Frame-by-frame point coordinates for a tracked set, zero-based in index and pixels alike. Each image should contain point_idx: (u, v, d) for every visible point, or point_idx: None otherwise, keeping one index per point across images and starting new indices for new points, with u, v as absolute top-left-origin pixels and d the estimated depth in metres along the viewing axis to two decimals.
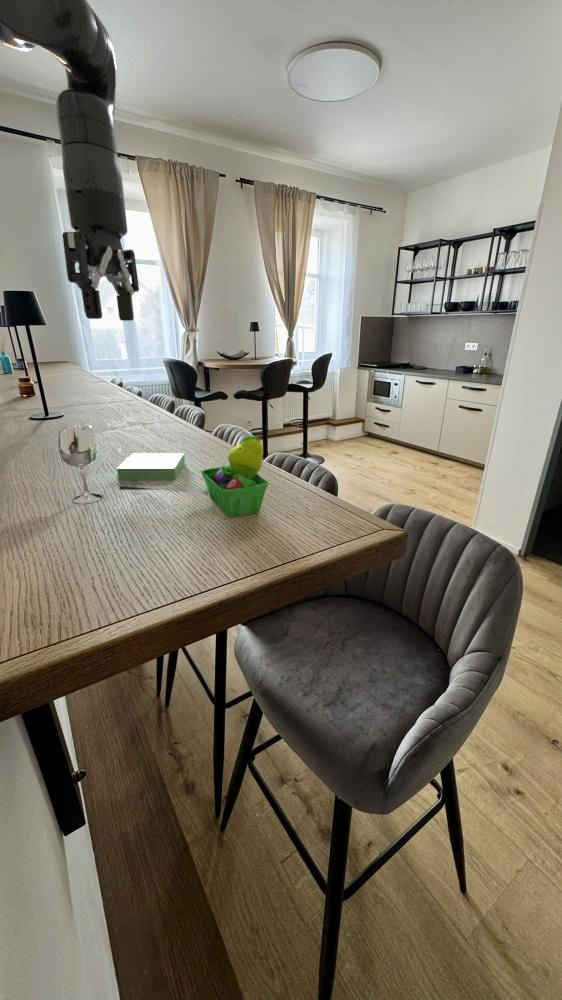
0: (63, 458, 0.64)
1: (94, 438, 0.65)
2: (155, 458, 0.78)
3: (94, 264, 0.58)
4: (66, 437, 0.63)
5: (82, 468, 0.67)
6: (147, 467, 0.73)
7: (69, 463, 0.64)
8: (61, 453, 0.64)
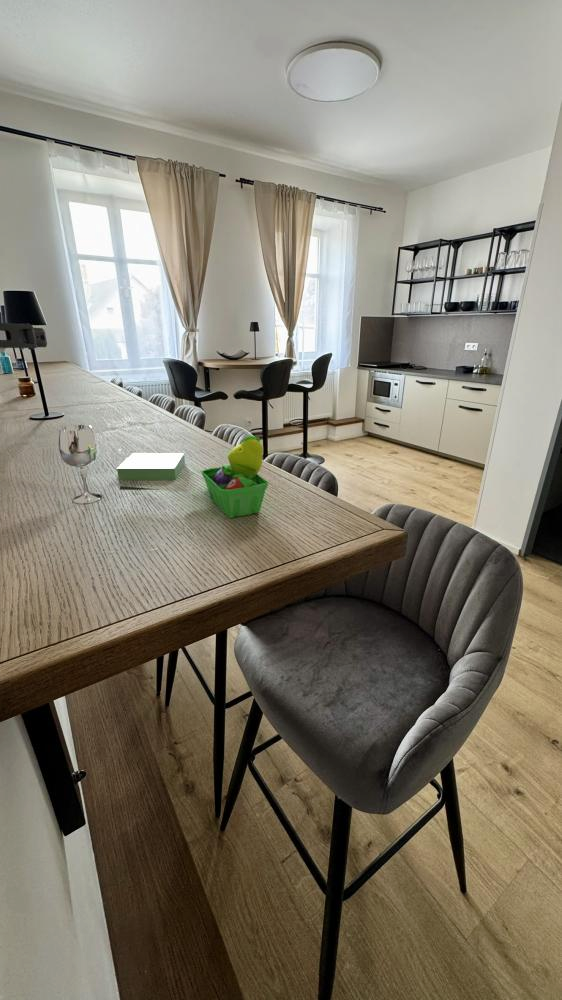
0: (63, 458, 0.64)
1: (94, 438, 0.65)
2: (155, 458, 0.78)
3: None
4: (66, 437, 0.63)
5: (82, 468, 0.67)
6: (147, 467, 0.73)
7: (69, 463, 0.64)
8: (61, 453, 0.64)
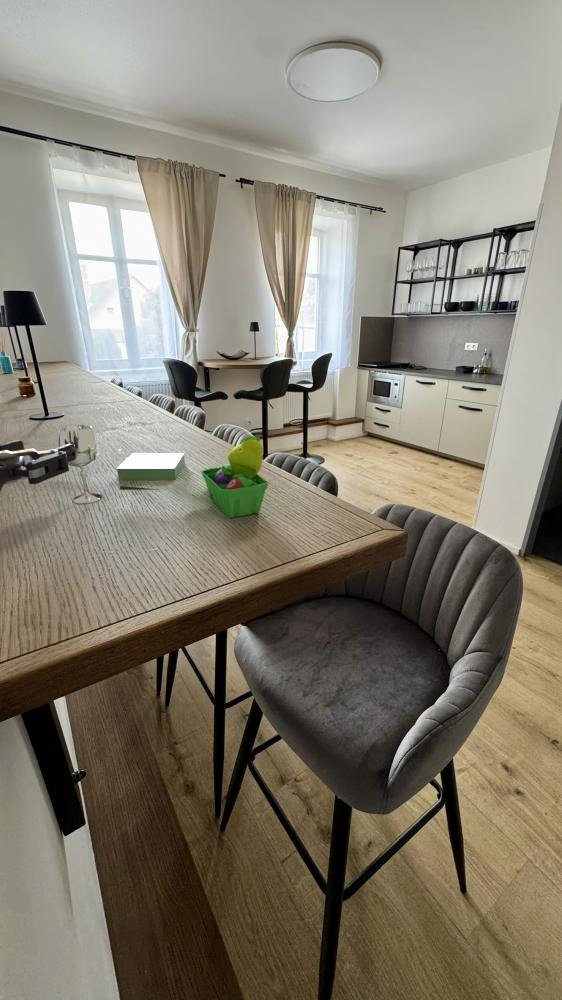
0: None
1: (94, 438, 0.65)
2: (155, 458, 0.78)
3: None
4: (66, 437, 0.63)
5: (82, 468, 0.67)
6: (147, 467, 0.73)
7: (69, 463, 0.64)
8: None
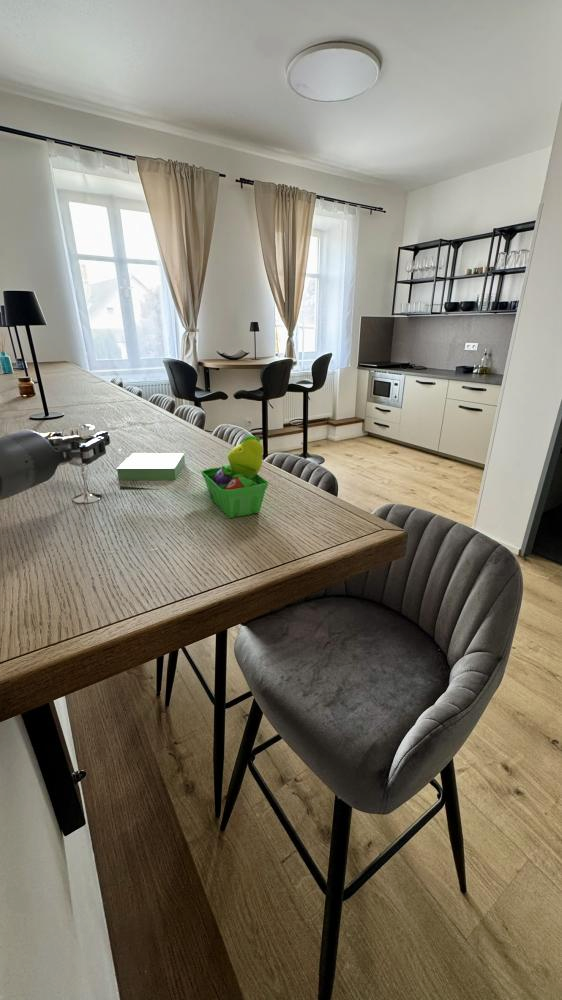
0: None
1: None
2: (155, 458, 0.78)
3: None
4: None
5: (83, 468, 0.67)
6: (147, 467, 0.73)
7: (70, 462, 0.64)
8: None
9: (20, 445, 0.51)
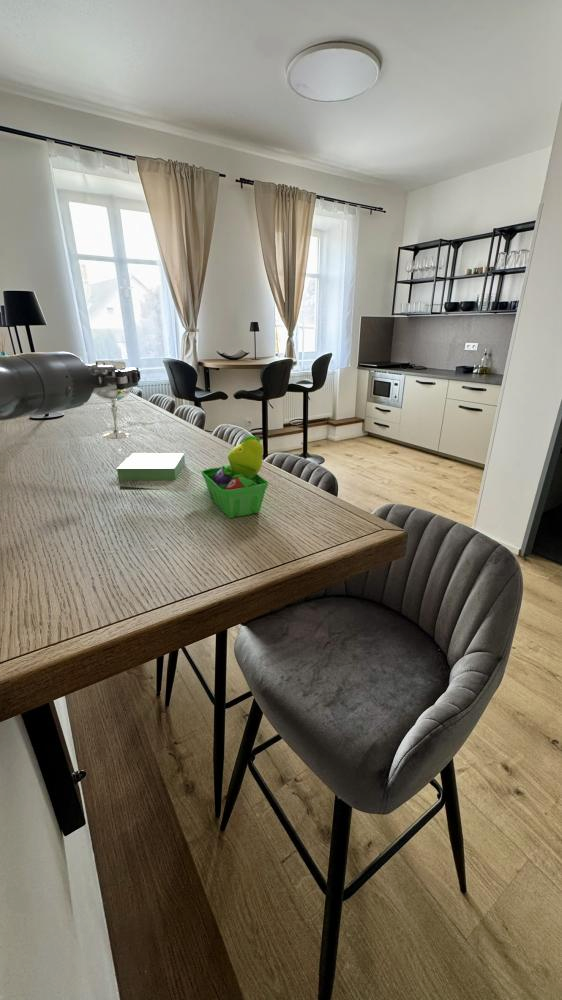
0: None
1: None
2: (155, 458, 0.78)
3: None
4: None
5: (114, 404, 0.68)
6: (147, 467, 0.73)
7: (102, 396, 0.65)
8: None
9: (60, 361, 0.52)
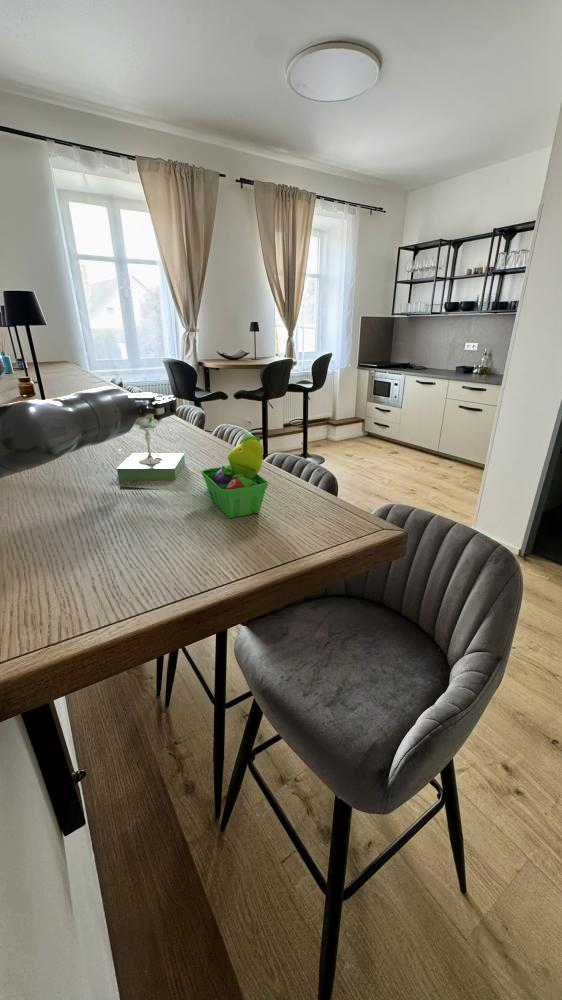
0: None
1: None
2: None
3: None
4: None
5: (147, 432, 0.74)
6: (147, 467, 0.73)
7: (138, 426, 0.72)
8: None
9: (110, 397, 0.58)
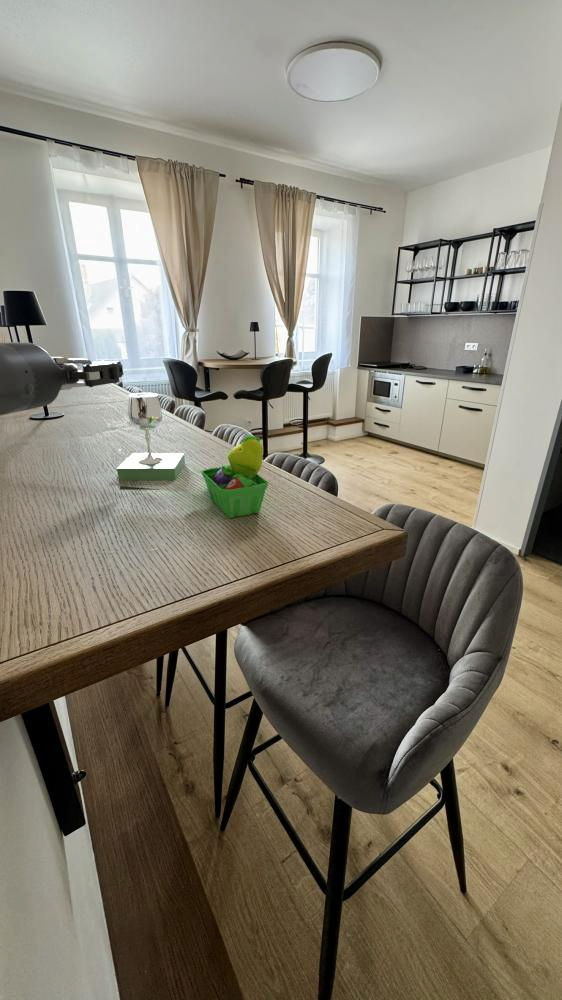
0: (133, 421, 0.71)
1: (159, 404, 0.73)
2: None
3: None
4: (137, 402, 0.70)
5: (147, 432, 0.74)
6: (147, 467, 0.73)
7: (138, 426, 0.72)
8: (131, 417, 0.71)
9: (19, 353, 0.45)
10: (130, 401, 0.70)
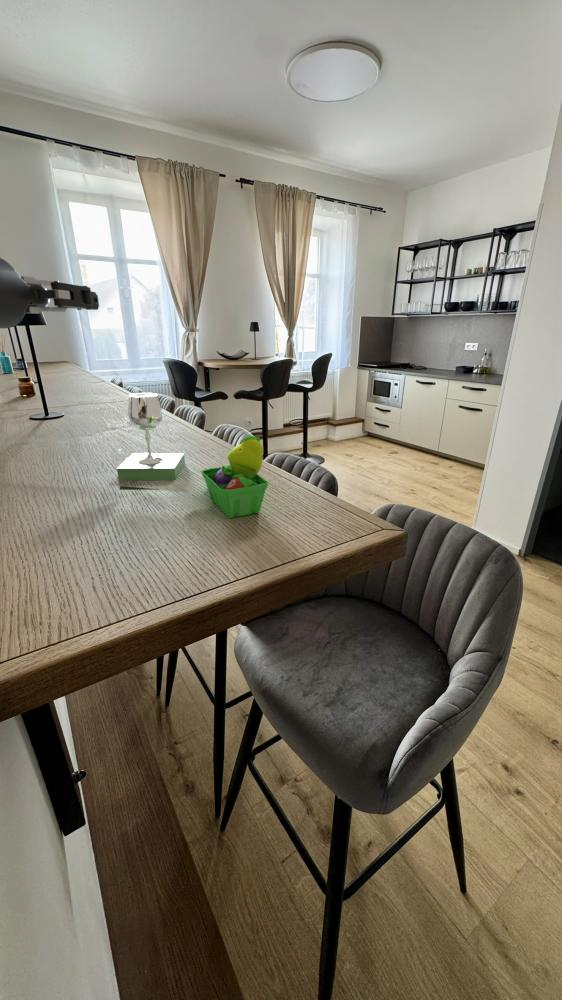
0: (133, 421, 0.71)
1: (159, 404, 0.73)
2: None
3: None
4: (137, 402, 0.70)
5: (147, 432, 0.74)
6: (147, 467, 0.73)
7: (138, 426, 0.72)
8: (131, 417, 0.71)
9: None
10: (130, 401, 0.70)
